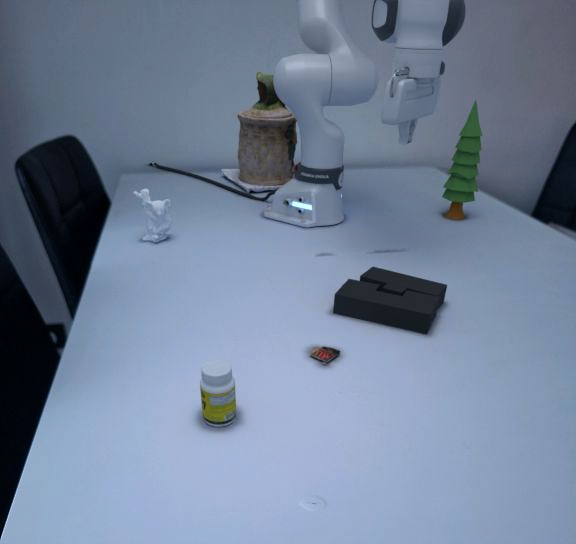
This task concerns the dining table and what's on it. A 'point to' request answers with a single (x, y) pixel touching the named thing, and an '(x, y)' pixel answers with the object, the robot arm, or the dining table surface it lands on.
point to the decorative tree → (464, 167)
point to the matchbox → (324, 353)
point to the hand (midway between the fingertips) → (405, 143)
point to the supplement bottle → (218, 393)
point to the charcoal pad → (386, 306)
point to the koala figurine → (155, 216)
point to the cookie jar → (265, 142)
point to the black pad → (403, 283)
